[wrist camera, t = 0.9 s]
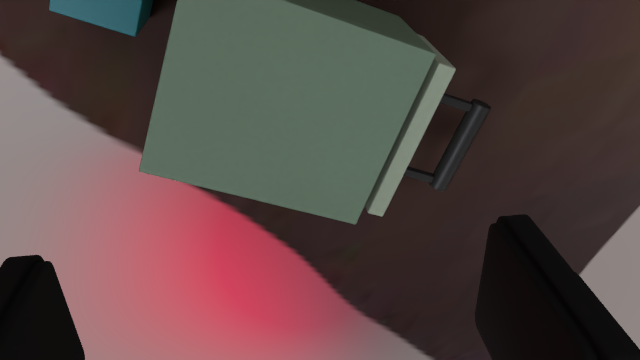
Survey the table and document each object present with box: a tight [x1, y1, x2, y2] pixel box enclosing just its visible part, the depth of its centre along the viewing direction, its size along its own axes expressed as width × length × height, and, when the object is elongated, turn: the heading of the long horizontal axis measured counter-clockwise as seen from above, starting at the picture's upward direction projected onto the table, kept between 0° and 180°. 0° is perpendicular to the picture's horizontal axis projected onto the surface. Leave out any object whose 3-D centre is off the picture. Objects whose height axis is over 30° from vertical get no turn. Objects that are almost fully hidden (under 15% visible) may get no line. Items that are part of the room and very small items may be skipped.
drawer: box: [365, 34, 491, 216], centre depth 36 cm, size 18×11×7 cm, turn 70°
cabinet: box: [139, 0, 436, 224], centre depth 35 cm, size 15×13×9 cm
